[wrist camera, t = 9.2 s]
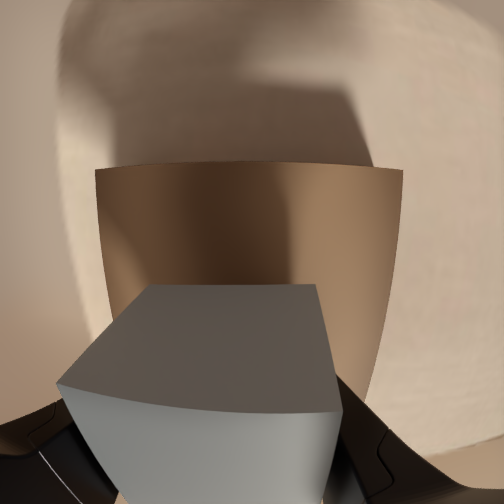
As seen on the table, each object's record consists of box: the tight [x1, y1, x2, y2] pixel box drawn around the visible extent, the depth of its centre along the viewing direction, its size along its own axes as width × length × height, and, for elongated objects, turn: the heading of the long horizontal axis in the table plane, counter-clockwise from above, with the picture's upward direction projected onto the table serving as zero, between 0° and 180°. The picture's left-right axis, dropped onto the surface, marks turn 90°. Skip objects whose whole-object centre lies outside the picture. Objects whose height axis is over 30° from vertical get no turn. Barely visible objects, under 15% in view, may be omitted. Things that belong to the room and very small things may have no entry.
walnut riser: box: [95, 161, 403, 402], centre depth 13 cm, size 11×12×4 cm
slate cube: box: [56, 284, 343, 504], centre depth 7 cm, size 5×5×5 cm
